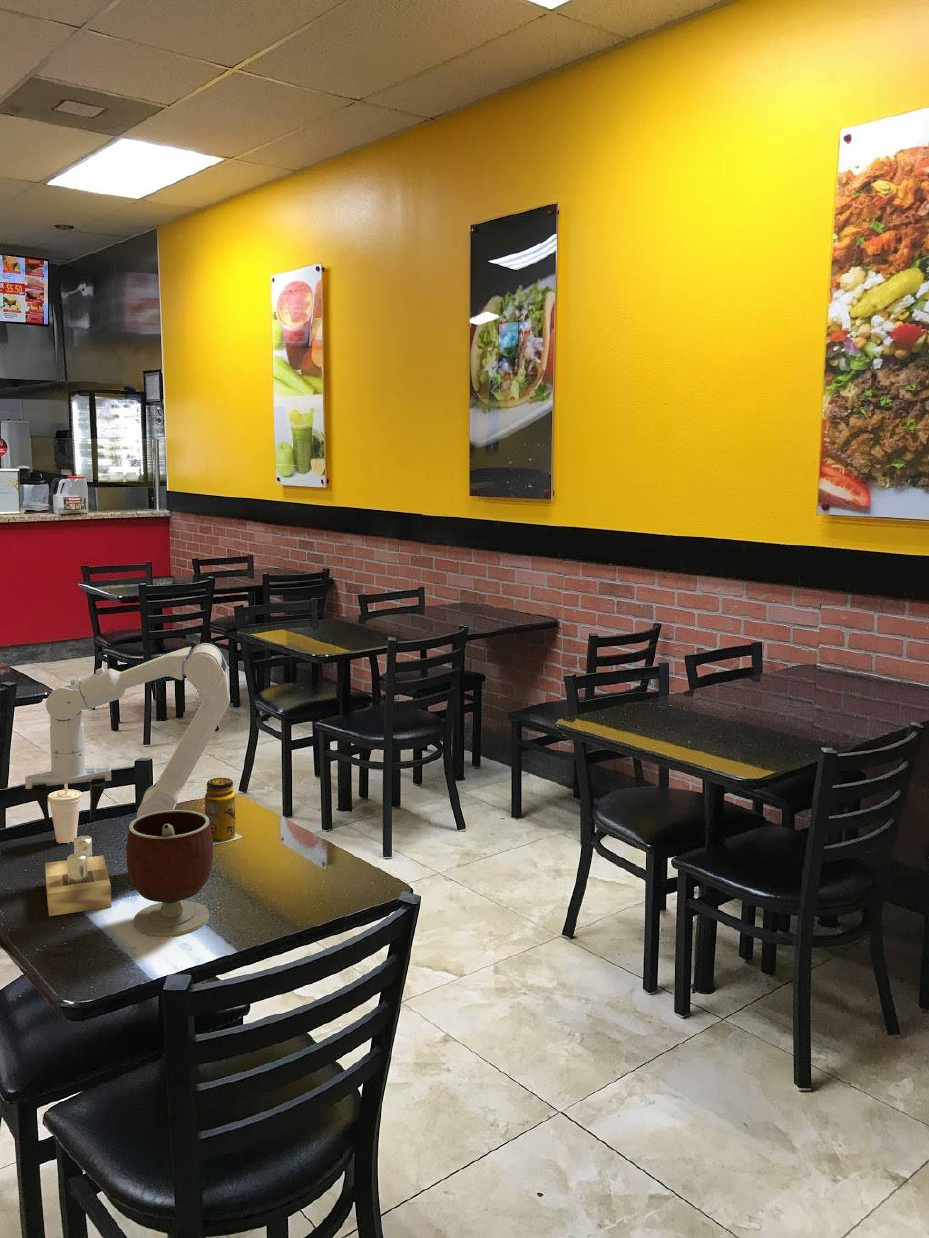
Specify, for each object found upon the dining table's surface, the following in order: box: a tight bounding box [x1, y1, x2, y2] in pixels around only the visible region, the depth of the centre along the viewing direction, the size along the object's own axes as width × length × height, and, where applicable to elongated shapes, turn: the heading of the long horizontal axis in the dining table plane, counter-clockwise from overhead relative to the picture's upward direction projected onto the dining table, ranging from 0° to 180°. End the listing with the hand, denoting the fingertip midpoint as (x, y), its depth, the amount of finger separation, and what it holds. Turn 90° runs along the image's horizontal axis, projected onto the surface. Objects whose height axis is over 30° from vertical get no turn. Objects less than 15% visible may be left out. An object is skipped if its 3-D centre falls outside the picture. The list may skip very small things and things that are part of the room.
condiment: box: [204, 777, 244, 846], centre depth 205 cm, size 7×8×12 cm
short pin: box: [73, 835, 93, 857], centre depth 193 cm, size 3×3×4 cm
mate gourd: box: [125, 809, 214, 938], centre depth 166 cm, size 16×14×20 cm
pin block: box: [44, 855, 112, 917], centre depth 177 cm, size 10×14×4 cm
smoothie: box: [48, 784, 83, 844], centre depth 201 cm, size 6×6×14 cm
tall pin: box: [66, 853, 88, 885], centre depth 175 cm, size 3×3×8 cm
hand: (70, 821), depth 184 cm, fingers open, 7 cm apart
